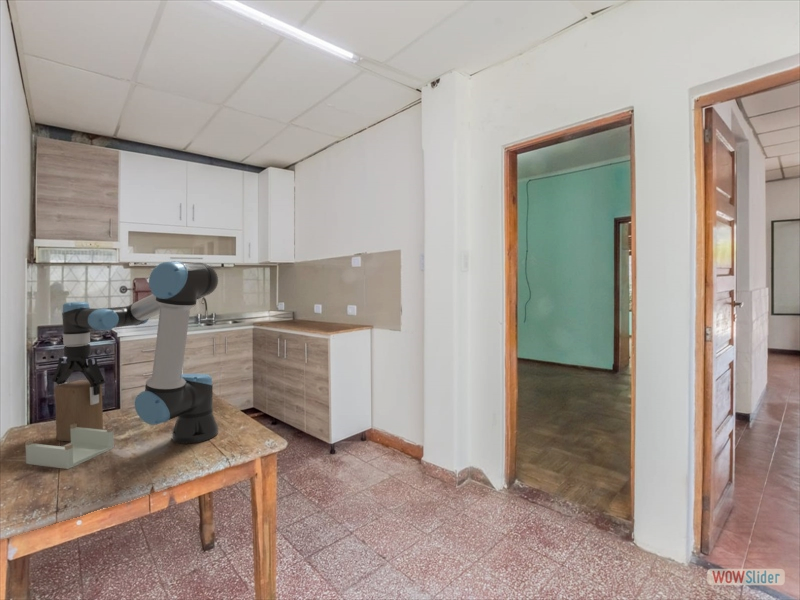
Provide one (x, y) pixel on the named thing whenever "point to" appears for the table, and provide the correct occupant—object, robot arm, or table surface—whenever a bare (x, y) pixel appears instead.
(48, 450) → the pale green tray
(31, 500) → the table surface
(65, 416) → the wooden block
